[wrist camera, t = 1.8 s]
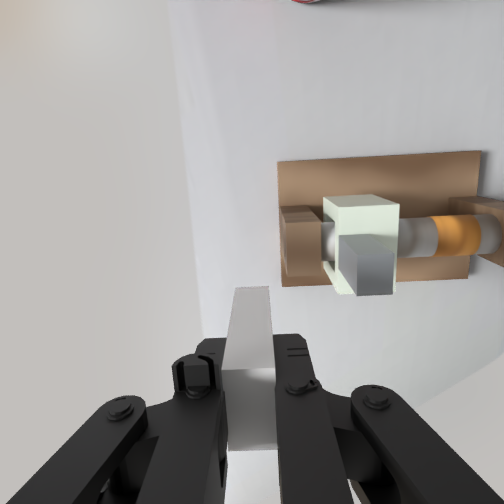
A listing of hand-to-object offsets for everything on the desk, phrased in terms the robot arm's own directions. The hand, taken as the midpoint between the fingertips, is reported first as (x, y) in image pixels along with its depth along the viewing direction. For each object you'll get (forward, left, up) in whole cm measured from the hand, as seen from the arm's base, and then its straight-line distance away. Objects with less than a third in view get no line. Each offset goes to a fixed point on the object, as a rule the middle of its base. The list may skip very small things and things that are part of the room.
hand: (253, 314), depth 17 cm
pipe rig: (-8, +8, -20) cm, 23 cm away
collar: (-6, +5, -15) cm, 17 cm away
